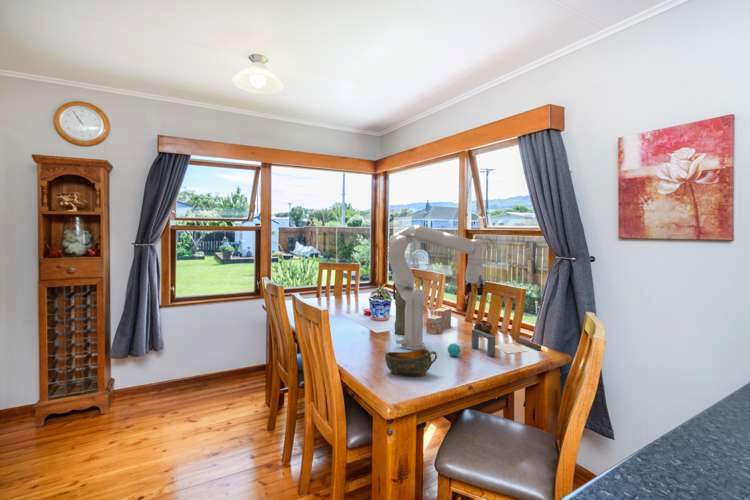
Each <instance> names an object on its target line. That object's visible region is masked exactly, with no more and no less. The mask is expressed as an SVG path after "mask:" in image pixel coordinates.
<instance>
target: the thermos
mask: <svg viewBox="0 0 750 500" xmlns="http://www.w3.org/2000/svg"><path fill="white" fill-rule="evenodd" d="M392 285H393V286H392V288H393V289H392V294H393V295H392V297H393V298H392V299H393V300H394V304H395V320H394V334H395V335H398V336H405V306H406V301H405V300H403V299H402V297H401V295H400V294H399V292H398V290H397V289H396V285H395V283H394V282H393V284H392Z"/></svg>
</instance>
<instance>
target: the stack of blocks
mask: <svg viewBox="0 0 750 500" xmlns="http://www.w3.org/2000/svg"><path fill="white" fill-rule="evenodd" d="M451 318H452V308H450V307H438V308H437V309H434V310H433V314H432V315H430V316H428V317H426V325H425V326H426V331H425V332H426V333H427V334H433V335H436V334H439V333H441V332H443V331H445V330H447V328H448V329H449V328H451V327H452V319H451Z"/></svg>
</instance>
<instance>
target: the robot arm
mask: <svg viewBox="0 0 750 500" xmlns="http://www.w3.org/2000/svg"><path fill="white" fill-rule="evenodd" d="M415 241H417V242H418V243H419V242H420V243H422V244H423V243H424V244H426V245H430V246H434V247H436V248H437V247H438V248H443V249H444V248H445V249H451V250H454V251H456V252H457V253H460V254H461V253H462V254H468V255H467V256H468V257H467V258H468V259H467V265H466V269H465V276H464V283H465V293H471V292H472V286H473V285H472V284H475V285H476V286H477V288H476V290H477V291H476V295H477V296H483V295H484V294H483V292H484V286H485V285H486V282H487V280H486V279H485V278H484V267H483V261H484V260H483V259H484V255H483V254H484V240H482V239H475V238H474V239H470V238H468V237H464V236H460V235H457V234H452V233H449V232H446V231H442V230H438V229H435V228H432V227H429V226H425V225H421V224H412V225H409V226H408V227H406V228H404V229H402V230H400V231H397V232H396V233H394V234H392V235H391V236H389V238H388V241H387V245H388V247H389V250H388V254H387V258H388V263H389V266H390V267H391V270H392V276H391V277H392V281H393V284H394V283H395V289H396V290H398V292H399V294H400V295H401V297H402V299H403V300H405V301H406V306H405V335H404V337H402V338H401V339H396V340H395V344H396V345H399V344H400V345H401V347H402V348H403V349H406V350H409V351H416V350H423V349H425V348H426V346H427V345H426V343H424V341H423V335H424V330H423V329H424V305H425V294H424V292H423V290H422V289H421V288H419V287H417V286H415V284H414V281H415V276H414V274H413V272H412V270H411V268H410V266H409V264H408V262H407V259H406V257H405V254H406V250H407V248H408V246H409V244H411V243H413V242H415Z"/></svg>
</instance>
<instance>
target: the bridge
mask: <svg viewBox="0 0 750 500" xmlns="http://www.w3.org/2000/svg"><path fill="white" fill-rule="evenodd" d="M480 337H483V338H484V339H487V350H486V351H487V354H486V356H487V357H489V358H495V357H496V348H495V345H496V336H495V335H492V334H490V333H489V334H487V333H485V332H482V331H480V330H477V329H474V328H473V329H471V349H473V350H479V346H480V345H479V343H480V341H479V340H480Z"/></svg>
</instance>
